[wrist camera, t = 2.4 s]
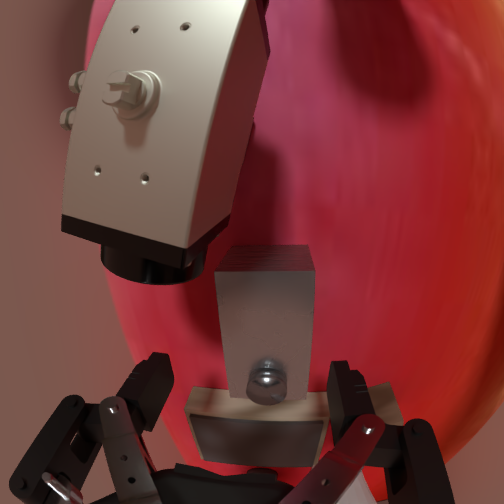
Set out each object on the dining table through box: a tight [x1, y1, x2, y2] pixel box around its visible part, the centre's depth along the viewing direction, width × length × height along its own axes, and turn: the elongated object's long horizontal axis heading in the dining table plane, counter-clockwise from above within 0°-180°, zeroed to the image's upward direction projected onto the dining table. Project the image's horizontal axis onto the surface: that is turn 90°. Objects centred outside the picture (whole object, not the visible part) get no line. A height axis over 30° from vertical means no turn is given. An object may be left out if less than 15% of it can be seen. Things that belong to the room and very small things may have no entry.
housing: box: [214, 245, 315, 406], centre depth 17 cm, size 9×5×6 cm, turn 3°
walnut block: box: [368, 382, 404, 426], centre depth 19 cm, size 5×5×5 cm
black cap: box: [247, 468, 278, 480], centre depth 26 cm, size 4×4×2 cm
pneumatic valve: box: [60, 0, 270, 285], centre depth 11 cm, size 6×12×12 cm, turn 167°
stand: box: [184, 386, 330, 467], centre depth 22 cm, size 12×9×3 cm
